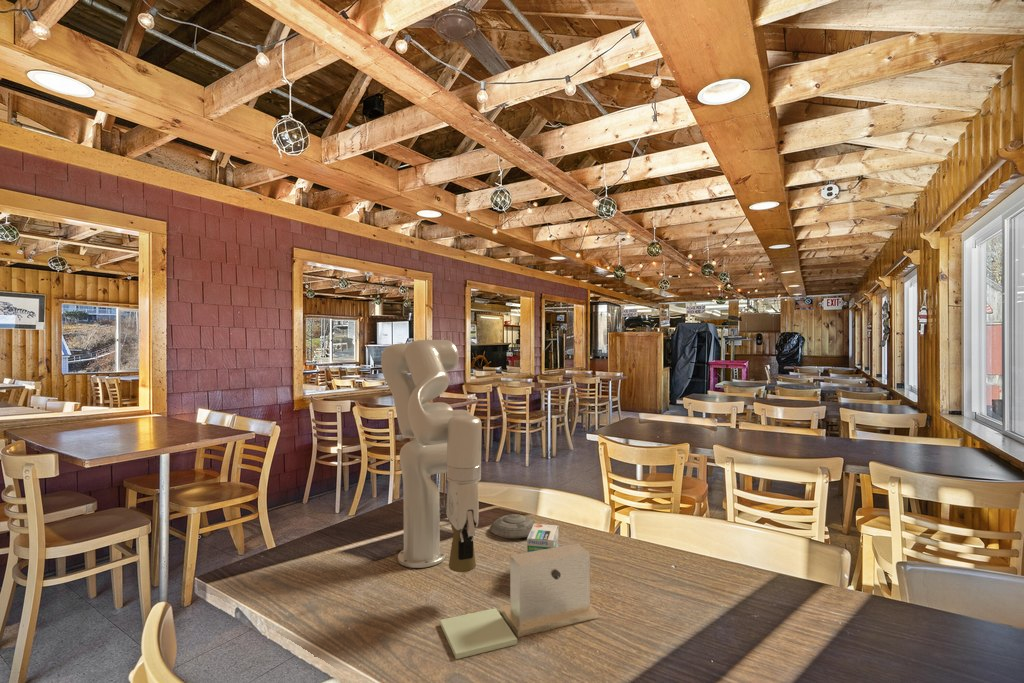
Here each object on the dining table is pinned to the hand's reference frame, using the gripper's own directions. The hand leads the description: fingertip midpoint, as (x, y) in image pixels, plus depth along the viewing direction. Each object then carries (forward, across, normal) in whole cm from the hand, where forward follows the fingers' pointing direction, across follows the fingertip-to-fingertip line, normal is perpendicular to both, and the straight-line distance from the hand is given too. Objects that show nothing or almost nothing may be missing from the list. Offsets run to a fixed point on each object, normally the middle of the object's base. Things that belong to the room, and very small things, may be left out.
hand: (462, 553), depth 110 cm
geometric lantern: (+13, -55, +12) cm, 58 cm away
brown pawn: (+3, 0, 0) cm, 3 cm away
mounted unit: (+10, +12, +15) cm, 22 cm away
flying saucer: (+13, -33, +26) cm, 44 cm away
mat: (+10, +14, -1) cm, 17 cm away
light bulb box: (+11, -4, +22) cm, 25 cm away
